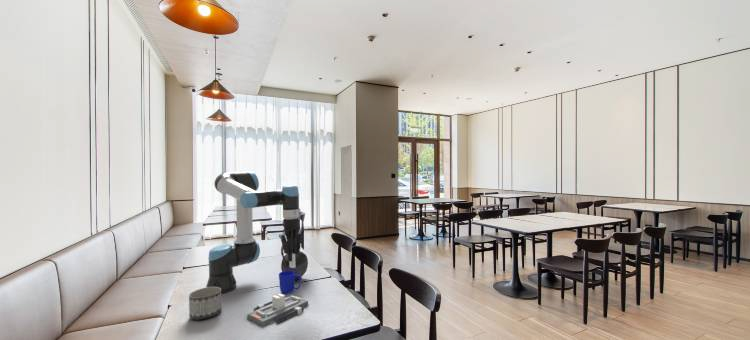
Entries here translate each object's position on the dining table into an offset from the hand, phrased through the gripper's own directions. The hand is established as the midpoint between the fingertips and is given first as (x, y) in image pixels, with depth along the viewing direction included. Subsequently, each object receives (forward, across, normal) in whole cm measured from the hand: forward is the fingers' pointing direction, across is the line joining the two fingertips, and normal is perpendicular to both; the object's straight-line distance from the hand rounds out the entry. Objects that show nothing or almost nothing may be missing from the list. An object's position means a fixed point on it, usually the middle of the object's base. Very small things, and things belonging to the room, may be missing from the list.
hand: (292, 267), depth 144 cm
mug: (+18, +9, +14) cm, 25 cm away
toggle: (+16, -8, 0) cm, 18 cm away
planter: (+18, -29, +25) cm, 43 cm away
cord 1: (+18, -8, +9) cm, 22 cm away
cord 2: (+18, -8, -8) cm, 21 cm away
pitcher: (+18, +20, +26) cm, 38 cm away
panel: (+18, -8, 0) cm, 20 cm away
